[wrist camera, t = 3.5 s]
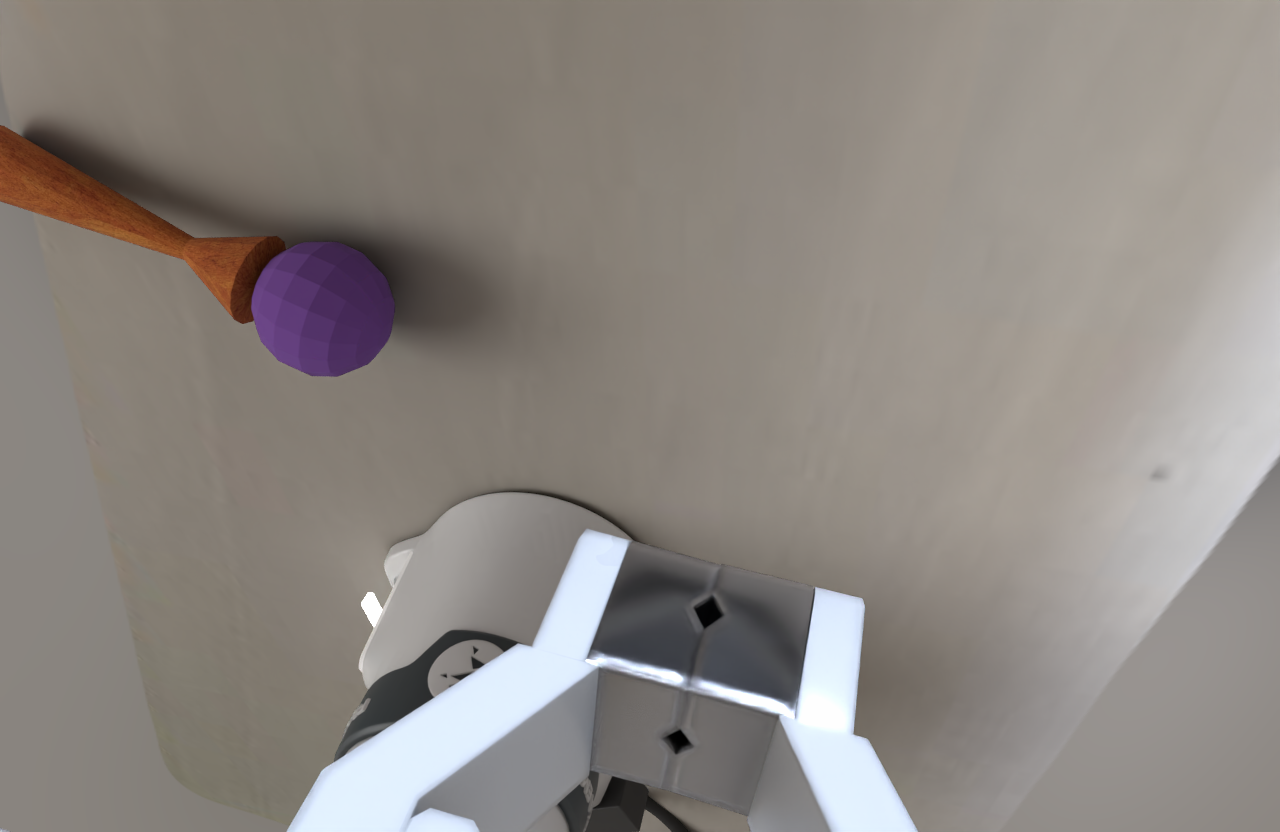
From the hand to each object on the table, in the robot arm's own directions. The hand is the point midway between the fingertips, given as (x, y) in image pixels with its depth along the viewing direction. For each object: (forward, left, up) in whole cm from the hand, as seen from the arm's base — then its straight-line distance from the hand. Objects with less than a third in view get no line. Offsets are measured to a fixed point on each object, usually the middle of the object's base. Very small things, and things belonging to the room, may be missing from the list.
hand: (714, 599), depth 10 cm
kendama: (-13, +27, -29) cm, 42 cm away
